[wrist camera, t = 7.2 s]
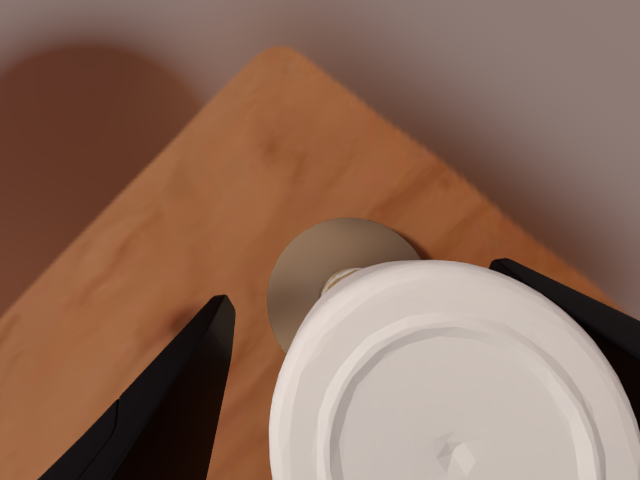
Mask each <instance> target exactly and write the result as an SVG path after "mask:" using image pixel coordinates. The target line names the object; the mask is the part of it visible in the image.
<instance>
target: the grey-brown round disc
mask: <svg viewBox="0 0 640 480" xmlns="http://www.w3.org/2000/svg"><path fill="white" fill-rule="evenodd" d="M408 260H421V258H420V257H419V256H418V254H417V253H416V251H415V250H414V249H413V248H412V247H411V245H410V244H409V243H408V242H407V241H406V240H405V239H403V238H402V237H401V236H400V235H399V234H397V233H396V232H394V231H392V230H391V229H389V228H387V227H385V226H383V225H381V224H379V223H376V222H373V221H370V220H365V219H359V218H338V219H333V220H328V221H325V222H322V223H319V224H316V225H314V226H312V227H310V228H308V229H307V230H305V231H304V232H302V233H301V234H299V235H298V236H297V237H296V238H295V239H294V240H292V241H291V242H290V244H289V245H288V246H287V247H286V248H285V249H284V251H283V252H282V254H281V255H280V257H279V258H278V260H277V262H276V264H275V266H274V269H273V271H272V274H271V277H270V282H269V286H268V295H267V306H268V314H269V320H270V324H271V327H272V330H273V333H274V335H275V337H276V340H277V341H278V343H279V345H280V346H281V348H282V350H283V351H284V352H285V354H286V355H287V352H288V350H289V348H290V346H291V344H292V341H293V339H294V337H295V335H296V333H297V331H298V329H299V327H300V326H301V324H302V322H303V321H304V319H305V317H306V316H307V314H308V313H309V311H310V310H311V309H312V307H313V306H314V305H315V303H316V302H317V301H318V300H319V299H320V297H321V292H322V289H323V287H324V285H325V284H326V282H327V281H328V280H329V279H330V277H331V276H332V275H333V274H335V273H337V272H339V271H341V270H343V269H346V268H366V267H369V266H373V265H377V264H381V263H386V262H394V261H408Z"/></svg>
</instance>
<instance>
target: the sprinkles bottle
mask: <svg viewBox="0 0 640 480" xmlns="http://www.w3.org/2000/svg"><path fill="white" fill-rule="evenodd" d="M269 447H270V464H271V471H272V478H273V480H640V431H639V428H638V424H637V421H636V418H635V415H634V413H633V410H632V407H631V405H630V402H629V400H628V397H627V395H626V393H625V391H624V389H623V386H622V384H621V382H620V380H619V378H618V376H617V374H616V373H615V371H614V370H613V368H612V366H611V365H610V363H609V362H608V360H607V359H606V357H605V356H604V354H603V353H602V352H601V350H600V349H599V347H598V346H597V345H596V343H595V342H594V340H593V339H592V338H591V337H590V336H589V335H588V334H587V333H586V332H585V331H584V330H583V329H582V328H581V327H580V326H579V324H577V323H576V322H575V321H574V320H573V319H572V318H571V317H570V316H569V315H568V314H567V313H566V312H564V311H563V310H562V309H561V308H560V307H558V306H557V305H556V304H554V303H553V302H552V301H550V300H549V299H548V298H546V297H545V296H544V295H542V294H541V293H539V292H537V291H536V290H534V289H532V288H531V287H529V286H527V285H525V284H524V283H522V282H519V281H517V280H515V279H513V278H511V277H509V276H506V275H504V274H502V273H499V272H496V271H493V270H490V269H488V268H484V267H480V266H476V265H472V264H468V263H462V262H455V261H442V260H408V261H394V262H386V263H381V264H377V265H373V266H369V267H366V268H346V269H343V270H341V271H339V272H337V273H335V274H333V275H332V276H331V277H330V279H329V280H328V281H327V282H326V284H325V285H324V287H323V289H322V292H321V297H320V299H319V300H318V301H317V302H316V303H315V305H314V306H313V307H312V309H311V310H310V311H309V313H308V314H307V316H306V317H305V319H304V321H303V322H302V324H301V326H300V327H299V329H298V331H297V333H296V335H295V337H294V339H293V341H292V344H291V346H290V348H289V350H288V352H287V355H286V357H285V360H284V363H283V365H282V368H281V370H280V373H279V376H278V380H277V383H276V387H275V391H274V394H273V399H272V405H271V411H270V423H269Z"/></svg>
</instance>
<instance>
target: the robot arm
mask: <svg viewBox="0 0 640 480" xmlns="http://www.w3.org/2000/svg"><path fill="white" fill-rule="evenodd" d="M489 269H490V270H493V271H496V272H499V273H502V274H504V275H506V276H509V277H511V278H513V279H515V280H517V281H519V282H522V283H524V284H525V285H527V286H529V287H531V288H532V289H534V290H536V291H537V292H539V293H541V294H542V295H544V296H545V297H546V298H548V299H549V300H550V301H552V302H553V303H554V304H556V305H557V306H558V307H560V308H561V309H562V310H563V311H564V312H566V313H567V314H568V315H569V316H570V317H571V318H572V319H573V320H574V321H575V322H576V323H577V324H579V326H580V327H581V328H582V329H583V330H584V331H585V332H586V333H587V334H588V335H589V336H590V337H591V338H592V339H593V340H594V342H595V343H596V345H597V346H598V347H599V349H600V350H601V352H602V353H603V354H604V356H605V357H606V359H607V360H608V362H609V363H610V365H611V366H612V368H613V370H614V371H615V373H616V374H617V376H618V378H619V380H620V382H621V384H622V386H623V389H624V391H625V393H626V395H627V397H628V400H629V402H630V405H631V407H632V410H633V413H634V415H635V418H636V421H637V424H638V428H639V431H640V321H639V320H637V319H634V318H632V317H630V316H628V315H626V314H624V313H622V312H620V311H618V310H616V309H613V308H611V307H609V306H607V305H605V304H603V303H601V302H599V301H597V300H595V299H592V298H590V297H588V296H586V295H584V294H582V293H580V292H578V291H576V290H574V289H571V288H569V287H567V286H565V285H563V284H561V283H559V282H557V281H555V280H553V279H550V278H548V277H546V276H544V275H542V274H540V273H538V272H536V271H534V270H532V269H529V268H527V267H525V266H523V265H521V264H519V263H517V262H515V261H513V260H511V259H508V258H502V259H495V260H493V261H492V262H491V264H490V267H489ZM235 315H236V314H235V309H234V307H233V305H232V303H231V301H230V300H229V298H228V296H227V295H216V296H214V297H212V298H211V299H210V300H209V301H208V302H207V303H206V305H205V306H204V307H203V308H202V309H201V310H200V311H199V312H198V313H197V314H196V315H195V316H194V317H193V318H192V320H191V321H190V322H189V323H188V324H187V325H186V326H185V327H184V328H183V329H182V330H181V331H180V332H179V333H178V335H177V336H176V337H175V338H174V339H173V340H172V341H171V342H170V343H169V344H168V345H167V346H166V347H165V348H164V350H163V351H162V352H161V353H160V354H159V355H158V356H157V357H156V358H155V359H154V360H153V361H152V362H151V363H150V365H149V366H148V367H147V368H146V369H145V370H144V371H143V372H142V373H141V374H140V375H139V376H138V377H137V378H136V380H135V381H134V382H133V383H132V384H131V385H130V386H129V387H128V388H127V389H126V390H125V391H124V392H123V393H122V395H121V396H120V397H119V399H117V400H116V401H115V402H114V403H113V404H112V405H111V406H110V407H109V408H108V409H107V410H106V412H105V413H104V414H103V415H102V416H101V417H100V418H99V419H98V420H97V421H96V422H95V423H94V424H93V425H92V426H91V427H90V428H89V429H88V430H87V431H86V432H85V433H84V434H83V436H82V437H81V438H80V439H78V440H77V441H76V442H75V443H74V444H73V445H72V446H71V447H70V448H69V449H68V450H67V451H66V452H65V453H64V454H63V455H62V456H61V457H60V458H59V459H58V460H57V461H56V462H55V463H54V464H53V465H52V466H51V467H50V468H49V469H48V470H47V471H46V472H45V473H44V474H43V475H42V476H41V477H40V478H39V479H38V480H206V478H207V473H208V468H209V463H210V459H211V454H212V449H213V444H214V439H215V434H216V430H217V425H218V420H219V415H220V410H221V406H222V401H223V396H224V391H225V386H226V381H227V377H228V372H229V367H230V362H231V356H232V347H233V336H234V326H235Z"/></svg>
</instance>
